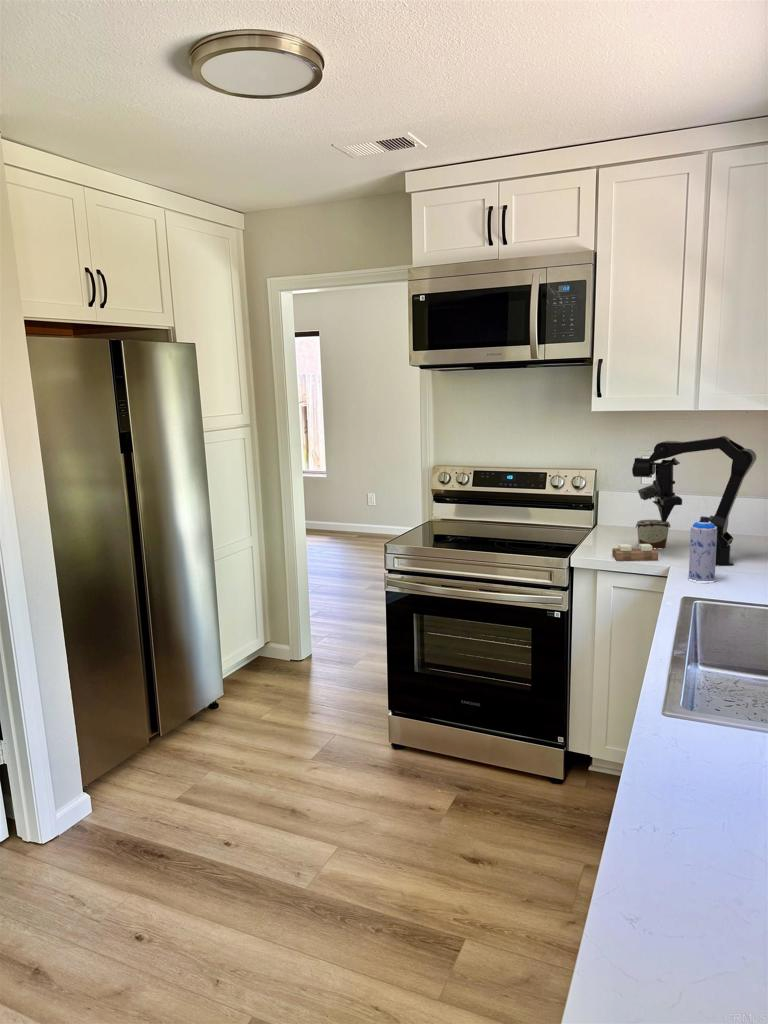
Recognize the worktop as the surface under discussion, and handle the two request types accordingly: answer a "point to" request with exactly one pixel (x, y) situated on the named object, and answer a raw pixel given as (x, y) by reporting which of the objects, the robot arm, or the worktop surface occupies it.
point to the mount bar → (635, 555)
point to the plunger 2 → (645, 547)
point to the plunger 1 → (624, 547)
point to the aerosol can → (702, 550)
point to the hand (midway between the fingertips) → (663, 521)
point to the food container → (653, 533)
